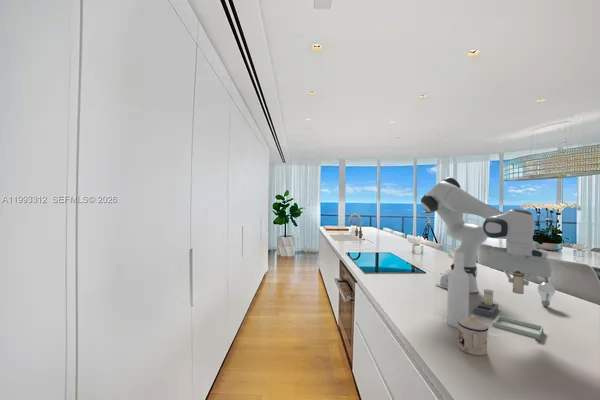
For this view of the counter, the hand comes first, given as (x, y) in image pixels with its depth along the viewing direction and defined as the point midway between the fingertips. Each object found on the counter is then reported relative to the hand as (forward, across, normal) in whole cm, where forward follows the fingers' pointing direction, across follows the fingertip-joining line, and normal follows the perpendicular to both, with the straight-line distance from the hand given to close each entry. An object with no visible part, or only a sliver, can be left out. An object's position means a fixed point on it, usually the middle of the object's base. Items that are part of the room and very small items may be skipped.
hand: (518, 283), depth 119 cm
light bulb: (+19, +5, +46) cm, 50 cm away
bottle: (+19, -18, -13) cm, 29 cm away
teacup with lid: (+19, -7, -33) cm, 39 cm away
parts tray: (+19, 0, 0) cm, 19 cm away
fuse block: (+19, -13, +11) cm, 26 cm away
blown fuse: (+4, 0, 0) cm, 4 cm away
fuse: (+18, -13, +15) cm, 27 cm away
